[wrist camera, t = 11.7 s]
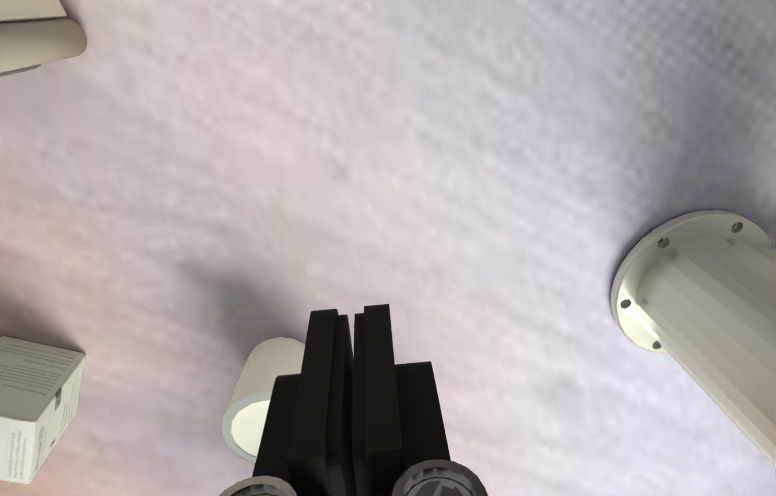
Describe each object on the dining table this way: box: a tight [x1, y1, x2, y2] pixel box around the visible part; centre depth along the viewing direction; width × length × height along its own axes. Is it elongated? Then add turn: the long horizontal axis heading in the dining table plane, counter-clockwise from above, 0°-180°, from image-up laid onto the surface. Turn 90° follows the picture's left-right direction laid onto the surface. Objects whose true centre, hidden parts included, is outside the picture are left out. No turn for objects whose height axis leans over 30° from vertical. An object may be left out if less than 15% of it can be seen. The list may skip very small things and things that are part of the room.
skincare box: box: [0, 336, 86, 484], centre depth 36 cm, size 6×6×7 cm
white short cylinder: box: [222, 337, 305, 463], centre depth 38 cm, size 7×7×7 cm
